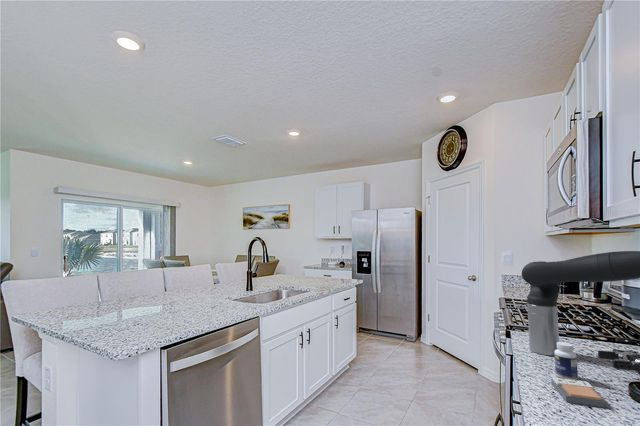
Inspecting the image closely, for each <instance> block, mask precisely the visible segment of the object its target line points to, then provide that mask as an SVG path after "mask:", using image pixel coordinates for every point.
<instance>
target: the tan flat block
mask: <svg viewBox="0 0 640 426" xmlns="http://www.w3.org/2000/svg"><path fill="white" fill-rule="evenodd" d="M550 380H551V385H552V387H553V388H554V389H555V390H556V391H557V393H558V394H559V396H560V397H561V398H562V399H563V400H564V401H565V402H566V403H569V404H577V405H583V406H590V407H596V408H603V409H604V408H605V409H609V402H608V401H607V400H606V399H605V398H604V397H603V396H602V395H601V394H600V393H599V392H598V391H596V390H595V389H594V387H593V386H592V385H591V384H590V383H589V382H588V381H585V380H579V379H577V380H570V379H562V378H560V377H552V378H550Z"/></svg>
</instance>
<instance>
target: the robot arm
mask: <svg viewBox="0 0 640 426" xmlns="http://www.w3.org/2000/svg"><path fill="white" fill-rule="evenodd" d="M521 277H522V279H523V281H525V282H526V283H527V284H528V285H530V291H529V292H528V294H527V297H526V302H527V303H526V304H527V318H528V319H527V320H528V321H527V323H528V339H529V340H528V341H529V350H530V352H533V353H536V354H540V355H544V356H554V357H555V354H554V351H555V350H556V349H558V348H557V342H560V335H559V334H560V333H559V317H558V299H559V284H562V283H569V282H570V283H571V282H572V283H607V282H618V281H619V282H621V281H630V280H631V281H632V280H639V279H640V251H638V250H624V251H623V250H621V251H610V252H609V251H608V252H601V253H594V254H588V255H584V256H578V257H573V258H570V259H565V260H560V261H559V260H557V261H542V260H541V261H540V260H539V261H533V262H529V263H527V264H526V265H525V266H523V268H522V270H521ZM597 356H598V358H599V359H602V360H612V368H614V369H616V370H622V371H623V370H624V371H631V372H633V373H637V374H638V375H640V353H639V352H638V351H635V350H634V351H633V350H623V349H616V348H613V349H612V350H611V351H609V350H598V351H597Z"/></svg>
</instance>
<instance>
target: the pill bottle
mask: <svg viewBox="0 0 640 426" xmlns="http://www.w3.org/2000/svg"><path fill="white" fill-rule="evenodd" d="M557 348H558V349H556V350H555V351H554V354H555V356H554V373H555V375H556V377H557V378H562V379H570V380H575V381H576V380H579V375H578V374H579V372H578V371H579V369H578V358H577V354H576V352H574V345H573V344H572V343H569V342H563V341H559V342H557Z"/></svg>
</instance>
